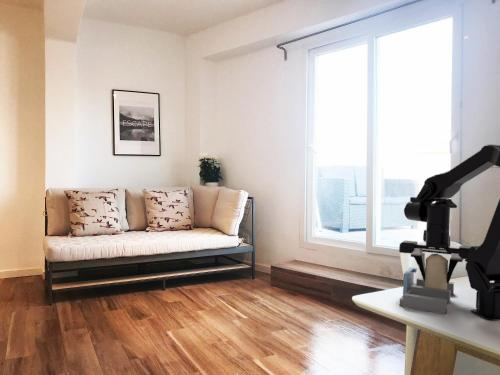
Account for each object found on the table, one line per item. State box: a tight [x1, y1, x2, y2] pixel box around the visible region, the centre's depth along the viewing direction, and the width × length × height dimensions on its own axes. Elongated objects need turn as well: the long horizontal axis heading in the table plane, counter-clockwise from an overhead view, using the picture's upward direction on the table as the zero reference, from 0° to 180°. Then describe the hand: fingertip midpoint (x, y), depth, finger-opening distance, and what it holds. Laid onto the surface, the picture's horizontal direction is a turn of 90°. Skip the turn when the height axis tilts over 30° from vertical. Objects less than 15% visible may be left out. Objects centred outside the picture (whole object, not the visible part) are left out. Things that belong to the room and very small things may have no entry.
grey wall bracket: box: [399, 266, 455, 315], centre depth 113 cm, size 22×12×6 cm, turn 150°
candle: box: [425, 253, 449, 290], centre depth 116 cm, size 6×6×10 cm
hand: (436, 281), depth 116 cm, fingers closed on candle, 5 cm apart
